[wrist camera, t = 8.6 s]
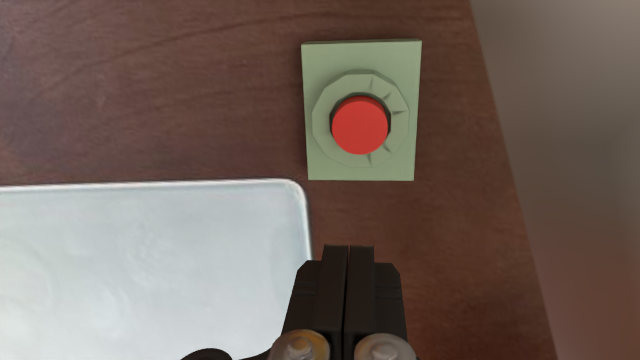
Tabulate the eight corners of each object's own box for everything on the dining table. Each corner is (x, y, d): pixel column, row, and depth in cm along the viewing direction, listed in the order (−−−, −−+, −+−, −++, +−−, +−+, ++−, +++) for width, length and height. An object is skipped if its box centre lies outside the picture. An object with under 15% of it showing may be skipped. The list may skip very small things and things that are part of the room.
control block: (418, 37, 29) (425, 43, 25) (410, 169, 33) (416, 191, 29) (305, 41, 30) (296, 47, 26) (311, 169, 34) (304, 189, 30)
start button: (387, 94, 27) (388, 100, 25) (385, 146, 28) (387, 155, 27) (333, 95, 27) (330, 101, 26) (334, 146, 29) (332, 155, 27)
